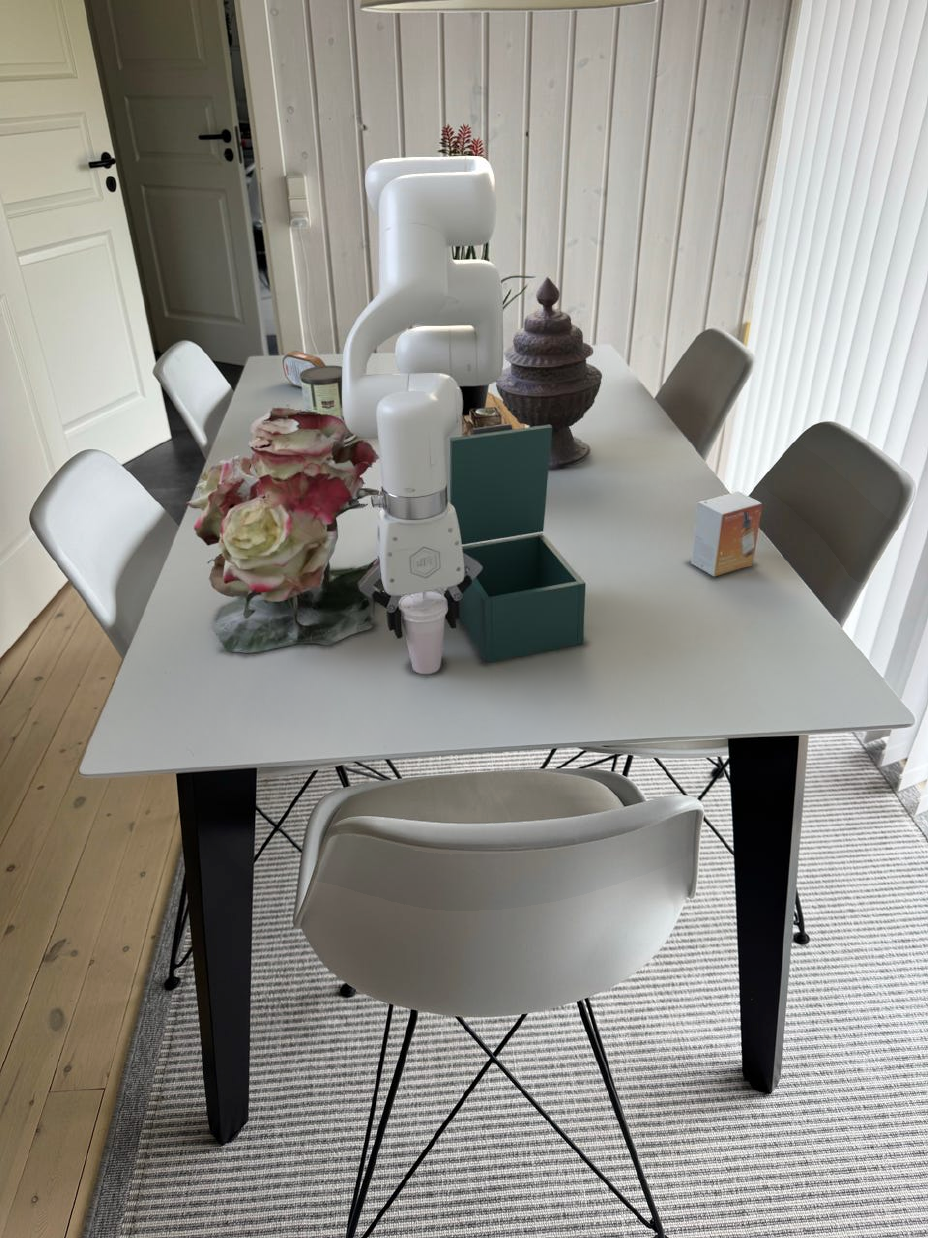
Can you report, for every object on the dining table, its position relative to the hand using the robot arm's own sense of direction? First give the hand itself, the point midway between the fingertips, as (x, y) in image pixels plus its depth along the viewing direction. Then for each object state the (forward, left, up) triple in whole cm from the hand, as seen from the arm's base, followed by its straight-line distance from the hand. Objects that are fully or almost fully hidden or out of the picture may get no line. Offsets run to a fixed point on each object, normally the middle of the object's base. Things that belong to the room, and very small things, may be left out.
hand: (424, 627), depth 116 cm
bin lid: (-17, -8, +12) cm, 22 cm away
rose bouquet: (+8, -23, -6) cm, 25 cm away
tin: (-37, -123, -6) cm, 128 cm away
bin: (-16, -2, -6) cm, 17 cm away
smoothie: (0, 0, -6) cm, 6 cm away
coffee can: (-27, -87, -6) cm, 91 cm away
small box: (-52, +2, -6) cm, 52 cm away
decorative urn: (-57, -50, -6) cm, 76 cm away
